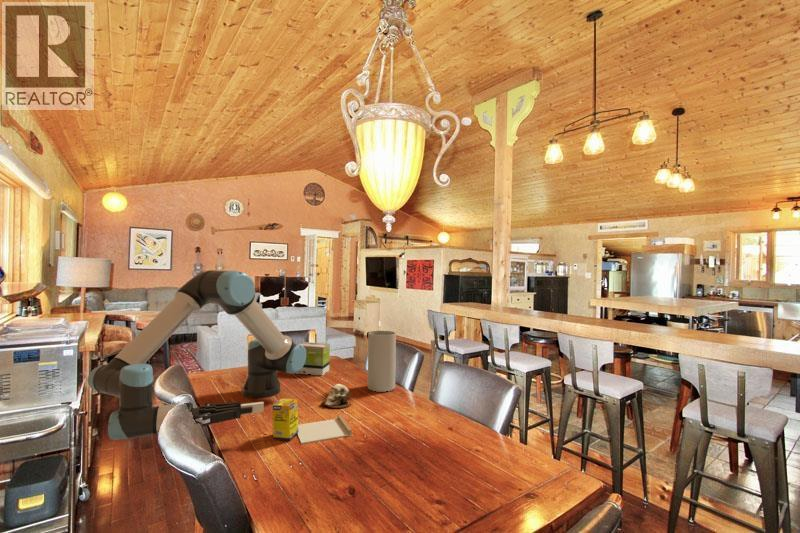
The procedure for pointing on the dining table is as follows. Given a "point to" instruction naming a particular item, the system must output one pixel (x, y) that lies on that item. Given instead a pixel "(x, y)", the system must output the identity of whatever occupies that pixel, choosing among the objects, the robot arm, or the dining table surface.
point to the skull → (337, 397)
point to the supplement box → (285, 419)
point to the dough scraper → (323, 430)
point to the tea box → (316, 358)
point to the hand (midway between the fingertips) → (263, 406)
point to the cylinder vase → (381, 360)
